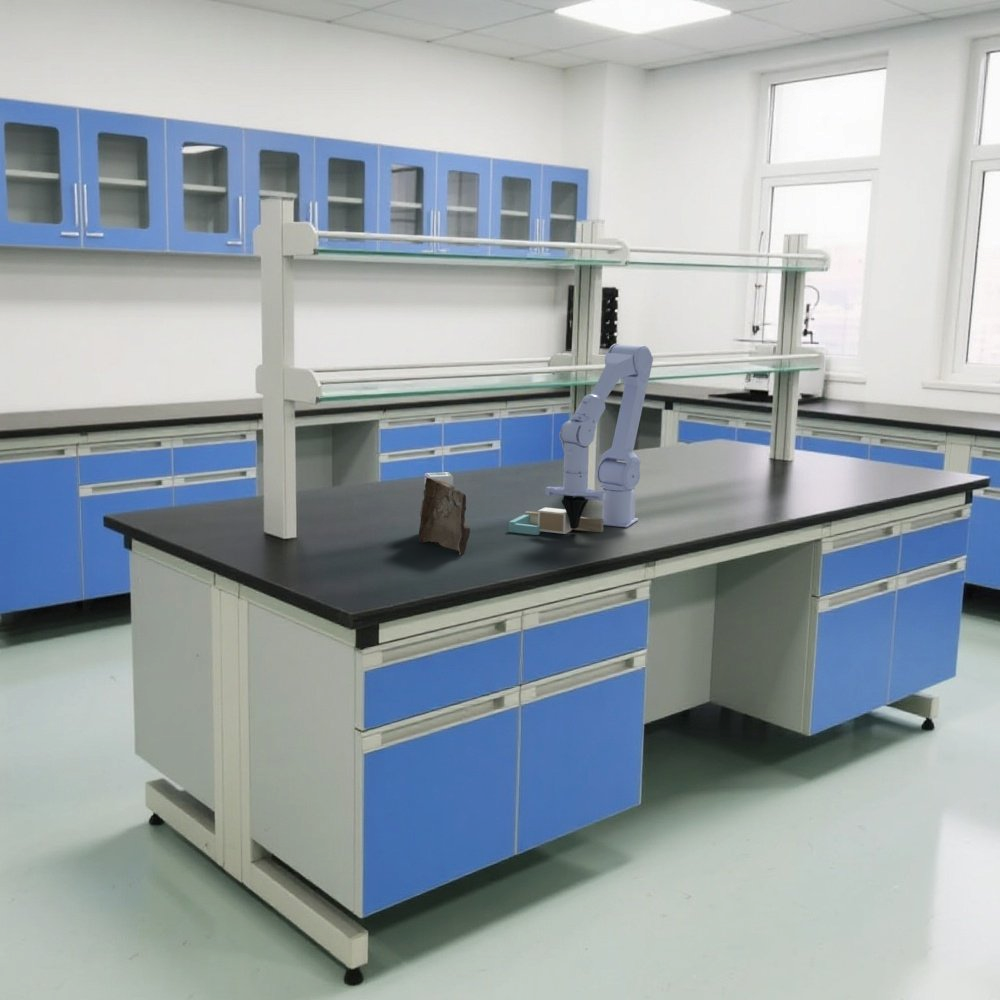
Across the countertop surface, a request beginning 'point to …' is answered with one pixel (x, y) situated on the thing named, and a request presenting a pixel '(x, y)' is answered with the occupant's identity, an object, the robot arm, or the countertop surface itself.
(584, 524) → the wall board
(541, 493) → the countertop surface
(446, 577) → the countertop surface
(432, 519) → the mineral sample
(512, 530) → the teal l-shaped block
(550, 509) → the cabinet block
